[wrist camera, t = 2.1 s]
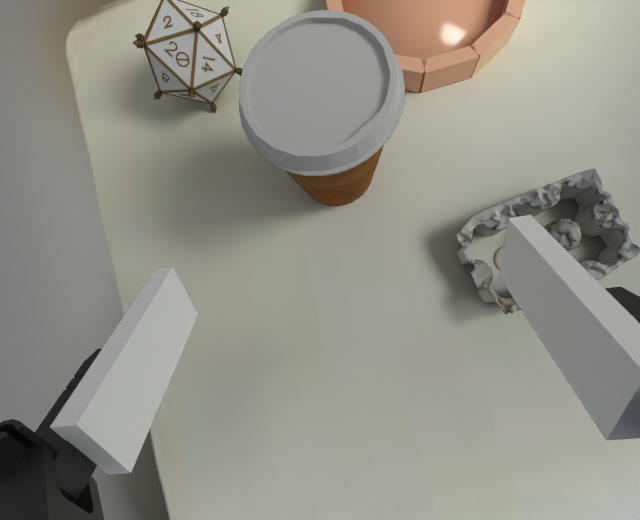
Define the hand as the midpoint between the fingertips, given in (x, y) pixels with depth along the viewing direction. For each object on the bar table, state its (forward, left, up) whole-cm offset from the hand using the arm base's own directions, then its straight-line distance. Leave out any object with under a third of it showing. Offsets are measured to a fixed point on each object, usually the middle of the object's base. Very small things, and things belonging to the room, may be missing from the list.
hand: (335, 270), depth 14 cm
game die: (+24, -4, -15) cm, 28 cm away
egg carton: (-7, -12, -15) cm, 21 cm away
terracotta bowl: (+15, -22, -15) cm, 30 cm away
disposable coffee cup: (+9, -6, -15) cm, 18 cm away
